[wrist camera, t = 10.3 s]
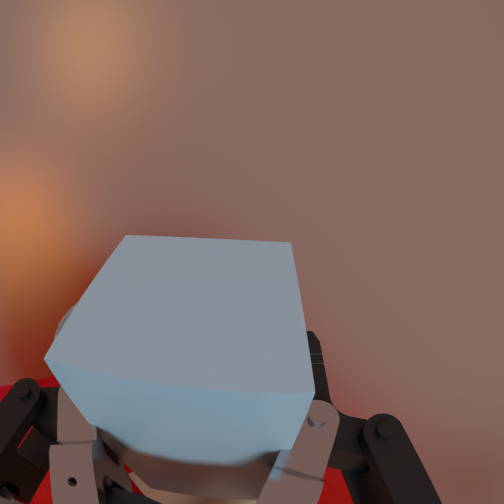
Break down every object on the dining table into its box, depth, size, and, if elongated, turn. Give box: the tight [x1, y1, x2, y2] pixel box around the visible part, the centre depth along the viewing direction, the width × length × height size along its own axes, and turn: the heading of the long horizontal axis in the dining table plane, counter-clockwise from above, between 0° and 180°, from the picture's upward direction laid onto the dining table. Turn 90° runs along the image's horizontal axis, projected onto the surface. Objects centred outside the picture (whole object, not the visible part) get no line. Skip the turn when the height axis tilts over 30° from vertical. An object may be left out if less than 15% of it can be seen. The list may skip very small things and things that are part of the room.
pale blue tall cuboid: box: [44, 235, 315, 500], centre depth 9 cm, size 5×5×10 cm
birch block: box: [128, 472, 257, 504], centre depth 18 cm, size 10×10×5 cm
